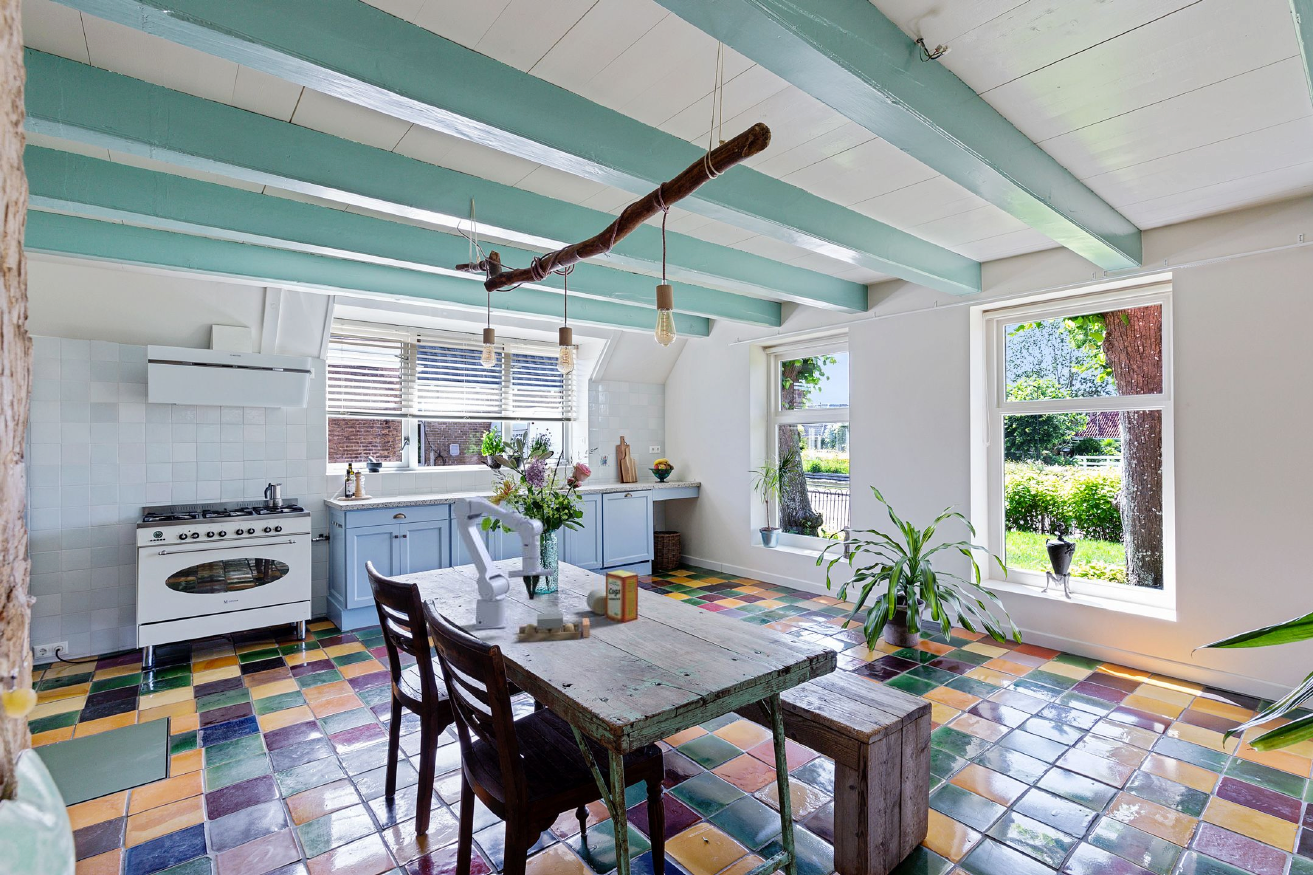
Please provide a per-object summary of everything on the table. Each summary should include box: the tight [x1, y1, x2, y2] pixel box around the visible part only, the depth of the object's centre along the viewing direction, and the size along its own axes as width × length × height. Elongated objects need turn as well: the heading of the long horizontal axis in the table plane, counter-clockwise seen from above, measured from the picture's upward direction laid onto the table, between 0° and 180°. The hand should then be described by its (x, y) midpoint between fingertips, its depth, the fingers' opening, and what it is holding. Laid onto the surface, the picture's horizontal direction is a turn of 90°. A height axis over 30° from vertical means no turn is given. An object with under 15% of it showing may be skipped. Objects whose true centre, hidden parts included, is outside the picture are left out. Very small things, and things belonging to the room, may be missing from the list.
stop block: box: [581, 617, 591, 638], centre depth 202 cm, size 2×7×4 cm, turn 10°
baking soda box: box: [605, 569, 639, 624], centre depth 220 cm, size 10×6×16 cm
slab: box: [536, 612, 564, 629], centre depth 200 cm, size 8×6×3 cm
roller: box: [564, 622, 575, 632], centre depth 202 cm, size 6×3×3 cm, turn 11°
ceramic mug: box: [586, 588, 606, 616], centre depth 227 cm, size 11×8×8 cm
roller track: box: [517, 623, 581, 643], centre depth 200 cm, size 19×9×3 cm, turn 101°
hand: (531, 598), depth 205 cm, fingers closed
